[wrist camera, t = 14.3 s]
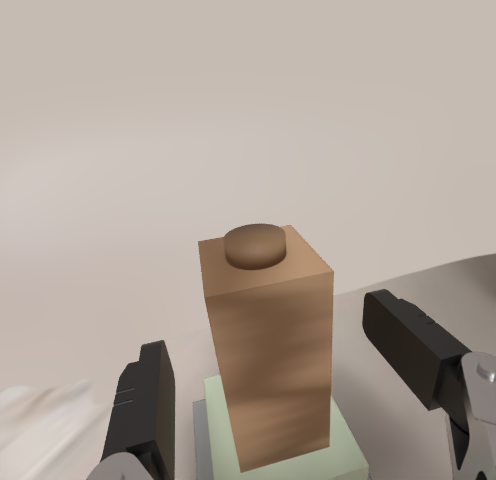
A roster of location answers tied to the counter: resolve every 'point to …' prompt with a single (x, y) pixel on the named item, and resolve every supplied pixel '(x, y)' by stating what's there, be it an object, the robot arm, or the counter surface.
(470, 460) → the robot arm
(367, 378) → the counter surface
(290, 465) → the foundation
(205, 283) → the walnut pillar block
